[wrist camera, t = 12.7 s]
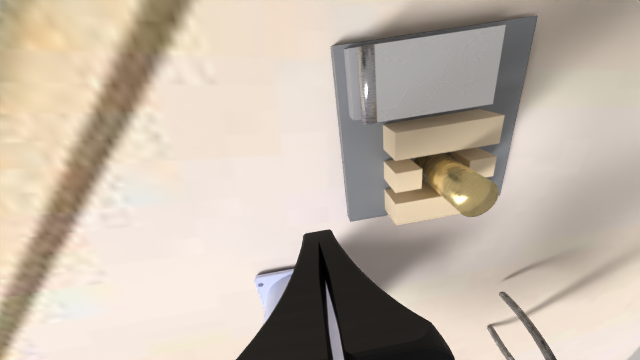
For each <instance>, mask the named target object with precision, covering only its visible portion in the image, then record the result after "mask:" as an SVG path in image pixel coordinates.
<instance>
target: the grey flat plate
mask: <svg viewBox="0 0 640 360" xmlns="http://www.w3.org/2000/svg"><path fill="white" fill-rule="evenodd" d="M505 27H506V25H501V26H494V27H488V28H481V29H474V30H467V31H461V32H454V33H447V34H441V35H434V36H427V37H420V38H414V39H407V40H400V41H394V42H387V43H380V44H373V45H367V46H360V47H357V51H358V68H359V84H360V101H361V117H362V124H375V123H377V122H383V121H389V120H395V119H402V118H408V117H414V116H421V115H427V114H433V113H440V112H446V111H452V110H458V109H465V108H471V107H477V106H484V105H490V104H493V100H494V94H495V88H496V82H497V76H498V70H499V64H500V58H501V52H502V45H503V39H504V33H505Z"/></svg>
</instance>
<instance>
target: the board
mask: <svg viewBox="0 0 640 360" xmlns="http://www.w3.org/2000/svg"><path fill="white" fill-rule="evenodd" d="M536 21H537V16H531V17H524V18H517V19H511V20H504V21H497V22H490V23H484V24H477V25H470V26H464V27H457V28H450V29H443V30H437V31H430V32H423V33H416V34H410V35H403V36H396V37H389V38H383V39H376V40H369V41H362V42H356V43H349V44H342V45H335V46H331V55H332V65H333V75H334V85H335V95H336V104H337V114H338V124H339V134H340V144H341V153H342V163H343V173H344V183H345V193H346V202H347V212H348V217H349V220H350V222H351V221H357V220H363V219H368V218H374V217H380V216H385V215H389V216H390V218H391V219H392V221H393V222H394V224H395V226H396V225H402V224H408V223H413V222H419V221H424V220H430V219H435V218H441V217H447V216H452V215H458V214H461V213H460V212H459V211H458V210H457V209H456V208H454V207H453V206H452V205H451V204H450V203H449V202H448V201H447V200H445V199H444V198H443V197H442V196H441V195H440V194H439V193H438V192H436V191H435V190H434V189H433V188H432V187H431V186H430V185H429V184H427V183H426V182H425V181H424V180H423V179H422V170H423V169H422V168H421V167H419V166H418V165H417V164H416V163H414V162H415V159H416V157H422V156H428V155H433V154H439V153H445V154H447V155H449V156H450V157H452V158H454V159H455V160H457V161H459V162H460V163H462V164H464V165H465V166H467V167H469V168H471V169H472V170H474V171H476V172H477V173H479V174H481V175H482V176H484V177H486V178H487V179H489V180H491V181H492V182H494V183H495V184H496V185H497V187H498V195H500V192H501V188H502V183H503V178H504V173H505V169H506V164H507V159H508V154H509V150H510V145H511V140H512V135H513V131H514V126H515V121H516V116H517V112H518V107H519V102H520V97H521V93H522V88H523V83H524V78H525V74H526V69H527V64H528V59H529V55H530V50H531V45H532V40H533V35H534V31H535V26H536ZM501 25H506V27H505V33H504V39H503V45H502V52H501V58H500V64H499V70H498V76H497V82H496V88H495V94H494V100H493V104H490V105H484V106H477V107H471V108H465V109H458V110H452V111H446V112H440V113H433V114H427V115H421V116H414V117H408V118H402V119H395V120H389V121H383V122H377V123H375V124H362V117H361V101H360V84H359V68H358V51H357V47H360V46H367V45H373V44H380V43H387V42H394V41H400V40H407V39H414V38H420V37H427V36H434V35H441V34H447V33H454V32H461V31H467V30H474V29H481V28H488V27H494V26H501Z"/></svg>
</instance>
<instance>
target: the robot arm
mask: <svg viewBox="0 0 640 360" xmlns="http://www.w3.org/2000/svg"><path fill="white" fill-rule="evenodd" d="M260 283H262V284H260ZM255 284H256V287H257V290H258V293H259V296H260V299H261V302H262V305H263V307H264V310H265V312H264V323H263V326H262V328H261V329H260V330H259V332H258V333H257V335H256V336H255V337H254V339H253V340H252V341H251V342H250V343H249V345H248V346H247V347H246V348H245V350H244V351H243V352H242V353H241V354H240V356H239V357H238V358H237V359H236V360H455V358H454V356H453V354H452V352H451V350H450V348H449V346H448V345H447V343H446V342H445V340H444V339H443V337H442V336H441V335H440V333H439V332H438V331H437V329H436V328H435V327H434V325H433V324H432V323H431V322H429V321H428V320H426V319H424V318H423V317H421V316H419V315H417V314H416V313H414V312H412V311H411V310H409V309H408V308H406V307H405V306H403V305H402V304H400V303H399V302H397V301H396V300H395V299H393V298H392V297H391V296H390V295H388V294H387V293H386V292H384V291H383V290H382V289H380V288H379V287H378V286H377V285H376V284H375V283H373V282H372V281H371V280H370V279H369V278H368V277H367V276H366V275H365V274H364V273H363V272H362V271H361V270H360V269H359V268H358V267H357V266H356V265H355V264H354V262H353V261H352V260H351V259H350V258H349V257H348V255H347V254H346V253H345V251H344V250H343V249H342V247H341V246H340V245H339V243H338V242H337V240H336V238H335V237H334V235H333V233H332V231H331V230H330V229H329V230H323V231H317V232H312V233H306V234H305V235H304V236H303V242H302V247H301V250H300V254H299V257H298V260H297V263H296V266H295V268H294V269H289V270H284V271H278V272H273V273H267V274H262V275H257V276H256V277H255Z"/></svg>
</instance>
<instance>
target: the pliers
mask: <svg viewBox="0 0 640 360" xmlns="http://www.w3.org/2000/svg"><path fill="white" fill-rule="evenodd" d="M499 295H500V296H501V298H502V299H503V300H504V301H505V302H506V303H507V304H508V305H509V306H510V307H511V309H512V310H513V311H514V312H515V313H516V315H517V316H518V317H519V319H520V320H521V321H522V323H523V324H524V325H525V327H526V328H527V330H528V331H529V333H530V334H531V335H532V337H533V339H534V340H535V342H536V344H537V345H538V347H539V348H540V350H541V352H542V354H543V356H544V358H545V359H546V360H557V359H556V358H555V356H554V354H553V353H552V351H551V349H550V347H549V346H548V344H547V343H546V341H545V340H544V338H543V337H542V335H541V334H540V332H539V331H538V330H537V328H536V327H535V326H534V324H533V323H532V322H531V320H530V319H529V318H528V317H527V315H526V314H525V313H524V312H523V311H522V309H521V308H520V307H519V306H518V305H517V304H516V303H515V302H514V301H513V300H512V299H511V297H509V296H508V295H507V294H506V293H505V292H500V293H499ZM487 329H488V331H489V332H490V334H491V336H492V338H493V339H494V341H495V343H496V344H497V346H498V347H499V349H500V350H501V352H502V353H503V355H504V356H505V358H506V359H507V360H515V359H514V358H513V357H512V355H511V354H510V353H509V351H508V350H507V348H506V347H505V345H504V344H503V342H502V341H501V339H500V338H499V336H498V334H497V333H496V331H495V330H494V328H493V327H492V326H488V328H487Z"/></svg>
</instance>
